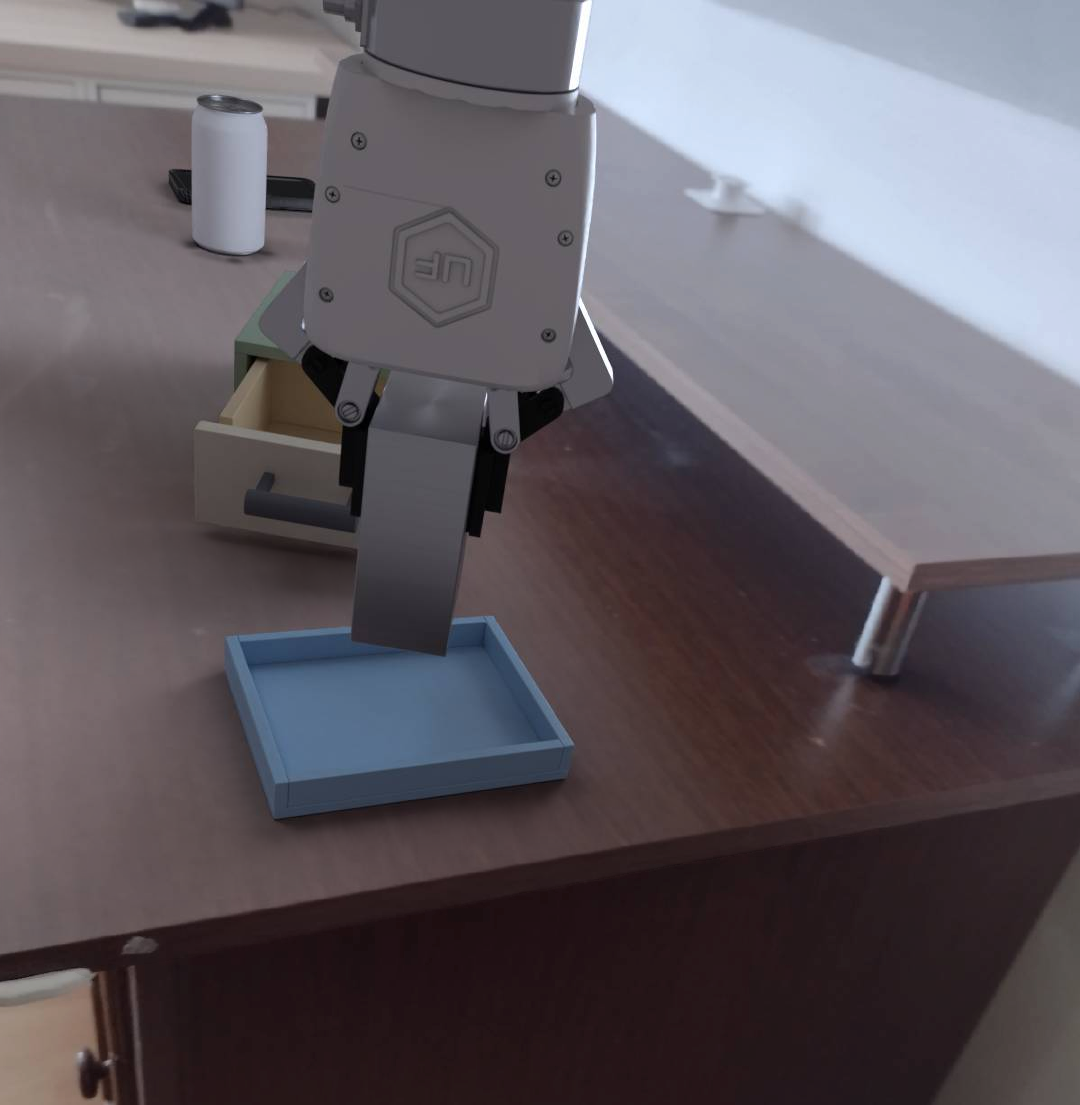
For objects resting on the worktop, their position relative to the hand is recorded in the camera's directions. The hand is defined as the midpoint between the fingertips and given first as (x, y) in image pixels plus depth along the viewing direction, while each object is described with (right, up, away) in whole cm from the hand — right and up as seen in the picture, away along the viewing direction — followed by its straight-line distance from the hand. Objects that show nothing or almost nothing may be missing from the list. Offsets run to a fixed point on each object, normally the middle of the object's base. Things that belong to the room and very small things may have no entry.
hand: (420, 508), depth 51 cm
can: (-24, +35, +59) cm, 73 cm away
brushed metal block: (-1, -4, +3) cm, 5 cm away
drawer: (-8, +4, +22) cm, 23 cm away
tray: (-2, -9, +7) cm, 12 cm away
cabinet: (-7, +12, +33) cm, 36 cm away
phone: (-25, +45, +72) cm, 88 cm away
